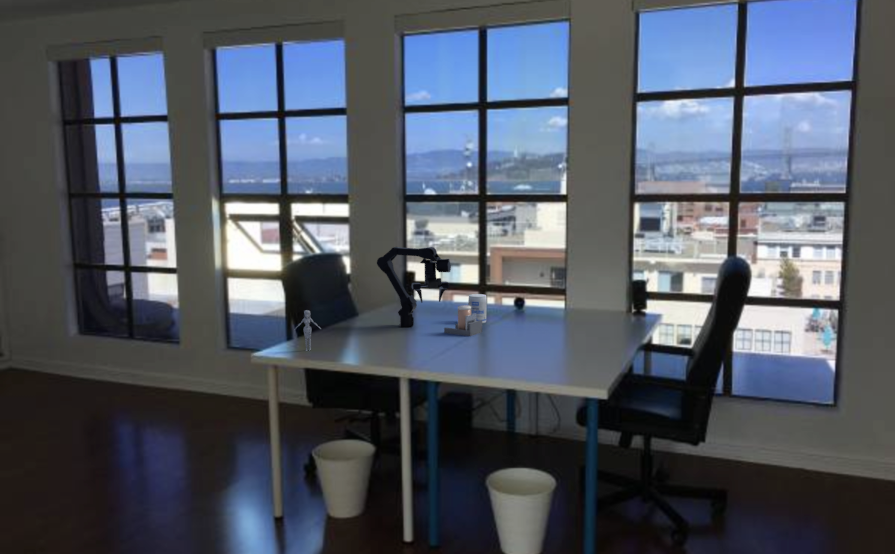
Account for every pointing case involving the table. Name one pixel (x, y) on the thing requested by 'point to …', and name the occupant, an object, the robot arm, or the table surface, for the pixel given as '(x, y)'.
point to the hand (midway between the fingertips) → (430, 302)
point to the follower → (470, 320)
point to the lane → (473, 330)
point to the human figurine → (307, 327)
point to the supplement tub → (478, 306)
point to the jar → (463, 315)
